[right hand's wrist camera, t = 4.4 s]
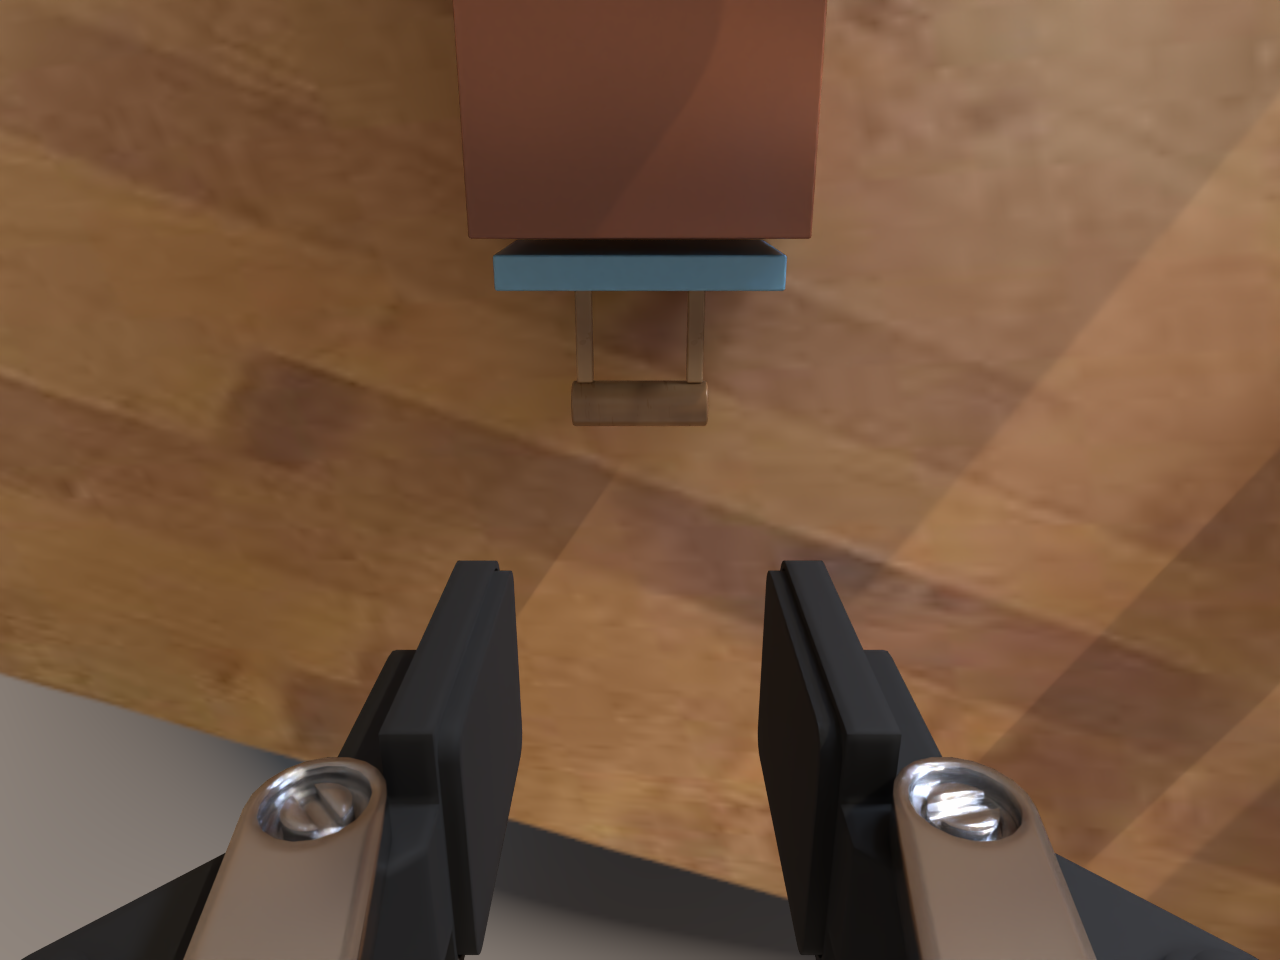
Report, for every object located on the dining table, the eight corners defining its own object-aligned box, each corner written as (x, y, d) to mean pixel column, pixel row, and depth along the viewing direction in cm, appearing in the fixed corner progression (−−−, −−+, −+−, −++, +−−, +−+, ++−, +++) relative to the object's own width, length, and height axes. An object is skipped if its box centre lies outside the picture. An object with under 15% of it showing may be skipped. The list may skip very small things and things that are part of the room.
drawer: (755, 398, 37) (776, 441, 31) (523, 398, 37) (503, 441, 31) (793, -363, 28) (831, -491, 22) (486, -363, 28) (448, -492, 22)
